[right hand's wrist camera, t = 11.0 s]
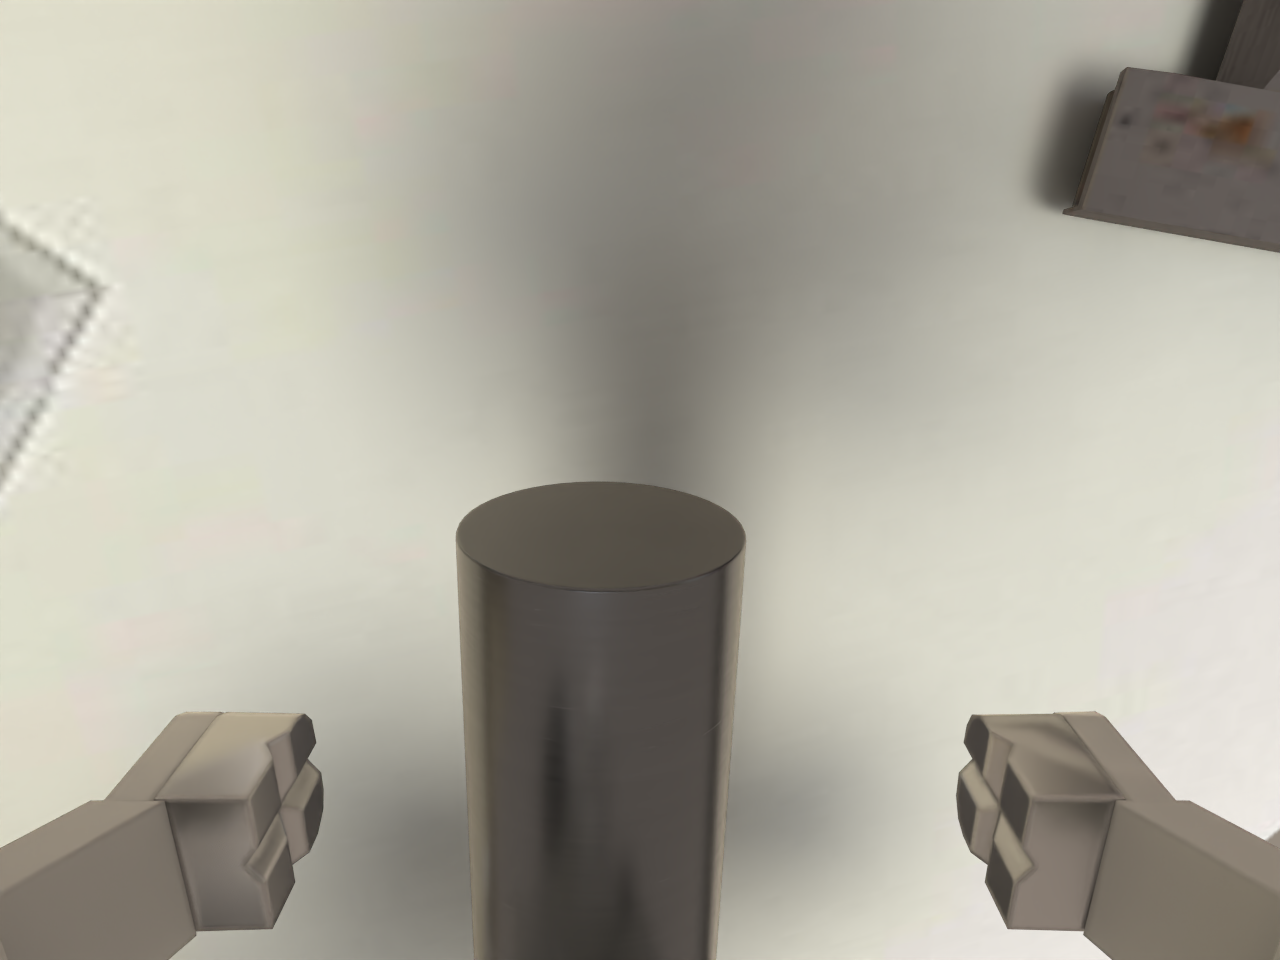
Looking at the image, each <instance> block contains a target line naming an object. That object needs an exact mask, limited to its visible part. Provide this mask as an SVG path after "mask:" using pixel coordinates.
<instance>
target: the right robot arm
mask: <svg viewBox="0 0 1280 960" xmlns="http://www.w3.org/2000/svg"><path fill="white" fill-rule="evenodd" d="M315 744H316V739H315V734H314V729H313V724H312V720H311V719H310V718H309V717H308V716H307V715H306V714H295V713H248V712H226V713H222V712H185V713H182V714H179V715H177V716H175V717H174V718H173V719H172V720H171V722H170V723H169V724H168V725H167V726H166V728H165V729H164V730H163V731H162V732H161V733H160V735H159V736H158V737H157V738H156V739H155V741H154V742H153V743H152V744H151V745H150V746H149V748H148V749H147V750H146V751H145V752H144V754H143V755H142V756H141V757H140V758H139V760H138V761H137V762H136V763H135V764H134V765H133V767H132V768H131V769H130V770H129V771H128V773H127V774H126V775H125V776H124V777H123V778H122V780H121V781H120V782H119V783H118V784H117V786H116V787H115V788H114V789H113V790H112V791H111V793H110V794H109V795H108V796H107V797H106V799H105V800H104V801H89V802H87V803H85V804H83V805H81V806H79V807H78V808H76V809H74V810H72V811H70V812H68V813H66V814H64V815H62V816H60V817H59V818H57V819H55V820H53V821H51V822H49V823H47V824H45V825H43V826H41V827H40V828H38V829H36V830H34V831H32V832H30V833H28V834H26V835H24V836H22V837H21V838H19V839H17V840H15V841H13V842H11V843H9V844H7V845H5V846H3V847H2V848H0V960H169V959H170V958H171V957H172V956H173V955H174V954H175V953H177V952H178V951H179V950H180V949H181V948H182V947H184V946H185V945H186V944H187V943H188V942H189V941H191V940H192V939H193V938H194V937H195V936H196V931H220V930H254V929H273V927H274V925H275V923H276V921H277V918H278V916H279V914H280V912H281V910H282V908H283V906H284V904H285V902H286V900H287V898H288V896H289V894H290V892H291V890H292V887H293V885H294V883H295V878H294V872H293V867H292V865H293V864H294V863H295V862H297V861H298V860H300V859H301V858H302V857H304V856H305V855H306V854H308V853H309V852H310V850H311V847H312V845H313V843H314V841H315V839H316V836H317V834H318V830H319V826H320V821H321V817H322V812H323V783H322V776H321V772H320V771H319V770H318V769H317V768H316V767H315V766H314V765H313V764H312V763H311V762H310V761H309V760H308V757H309V755H310V753H311V751H312V749H313V748H314V746H315ZM964 744H965V746H966V748H967V749H968V751H969V753H970V755H971V757H972V760H971V761H970V762H969V763H968V764H967V765H966V766H965V767H964V768H963V769H962V770H961V771H960V772H959V776H958V785H957V793H956V799H957V810H958V819H959V823H960V826H961V830H962V834H963V837H964V839H965V841H966V843H967V845H968V848H969V850H970V852H971V853H972V854H974V855H975V856H976V857H978V858H979V859H980V860H982V861H983V862H985V863H986V864H987V865H988V867H987V872H986V878H985V883H986V885H987V888H988V890H989V892H990V894H991V896H992V898H993V900H994V902H995V904H996V906H997V908H998V910H999V912H1000V914H1001V916H1002V918H1003V920H1004V922H1005V924H1006V927H1007V929H1024V930H1059V931H1084V934H1083V935H1084V936H1085V937H1086V938H1088V939H1089V940H1090V941H1091V942H1092V943H1093V944H1095V945H1096V946H1097V947H1098V948H1099V949H1100V950H1101V951H1103V952H1104V953H1105V954H1106V955H1107V956H1108V957H1110V958H1111V959H1112V960H1280V848H1278V847H1276V846H1274V845H1272V844H1271V843H1269V842H1267V841H1265V840H1263V839H1261V838H1259V837H1257V836H1255V835H1254V834H1252V833H1250V832H1248V831H1246V830H1244V829H1242V828H1240V827H1238V826H1237V825H1235V824H1233V823H1231V822H1229V821H1227V820H1225V819H1223V818H1221V817H1219V816H1218V815H1216V814H1214V813H1212V812H1210V811H1208V810H1206V809H1204V808H1202V807H1200V806H1199V805H1197V804H1195V803H1193V802H1191V801H1176V800H1175V799H1174V797H1173V796H1172V795H1171V794H1170V793H1169V792H1168V790H1167V789H1166V788H1165V787H1164V786H1163V784H1162V783H1161V782H1160V781H1159V780H1158V779H1157V777H1156V776H1155V775H1154V774H1153V773H1152V771H1151V770H1150V769H1149V768H1148V767H1147V766H1146V764H1145V763H1144V762H1143V761H1142V760H1141V758H1140V757H1139V756H1138V755H1137V754H1136V753H1135V751H1134V750H1133V749H1132V748H1131V747H1130V745H1129V744H1128V743H1127V742H1126V741H1125V740H1124V738H1123V737H1122V736H1121V735H1120V734H1119V732H1118V731H1117V730H1116V729H1115V728H1114V727H1113V725H1112V724H1111V723H1110V722H1109V721H1108V719H1107V718H1106V717H1105V716H1103V715H1101V714H1099V713H1097V712H1095V711H1091V712H1058V713H1053V714H985V715H972V716H971V718H970V720H969V722H968V724H967V727H966V733H965V738H964Z"/></svg>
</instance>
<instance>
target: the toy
mask: <svg viewBox="0 0 1280 960" xmlns="http://www.w3.org/2000/svg"><path fill="white" fill-rule="evenodd" d="M1063 214H1065V215H1071V216H1076V217H1082V218H1087V219H1093V220H1098V221H1104V222H1110V223H1115V224H1121V225H1127V226H1132V227H1138V228H1144V229H1149V230H1155V231H1161V232H1166V233H1172V234H1178V235H1183V236H1189V237H1195V238H1200V239H1206V240H1212V241H1217V242H1223V243H1229V244H1234V245H1240V246H1246V247H1251V248H1257V249H1263V250H1268V251H1274V252H1280V0H1244V1H1243V4H1242V6H1241V9H1240V12H1239V15H1238V18H1237V21H1236V24H1235V26H1234V29H1233V32H1232V35H1231V38H1230V41H1229V44H1228V46H1227V49H1226V52H1225V55H1224V58H1223V61H1222V64H1221V66H1220V69H1219V72H1218V75H1217V78H1216V81H1214V80H1209V79H1203V78H1198V77H1192V76H1187V75H1182V74H1176V73H1168V72H1161V71H1153V70H1145V69H1137V68H1130V67H1127V68H1125V69H1124V70H1123V71H1122V72H1121V73H1120V76H1119V79H1118V82H1117V85H1116V88H1115V90H1114V91H1111V92H1110V93H1109V94H1108V95H1107V98H1106V101H1105V104H1104V107H1103V110H1102V114H1101V117H1100V120H1099V123H1098V126H1097V130H1096V133H1095V136H1094V139H1093V142H1092V145H1091V149H1090V152H1089V155H1088V158H1087V161H1086V164H1085V168H1084V171H1083V174H1082V177H1081V180H1080V184H1079V187H1078V190H1077V193H1076V196H1075V199H1074V203H1073V207H1072V208H1068V209H1064V211H1063Z"/></svg>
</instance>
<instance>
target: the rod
mask: <svg viewBox="0 0 1280 960" xmlns="http://www.w3.org/2000/svg"><path fill="white" fill-rule="evenodd" d="M745 550H746V535H745V531H744V529H743V527H742V525H741V524H740V522H739V521H738V520H737V519H736V518H735V517H734V516H733V515H732V514H731V513H729V512H728V511H726V510H725V509H723V508H722V507H720V506H718V505H716V504H714V503H712V502H710V501H707V500H705V499H702V498H700V497H697V496H694V495H691V494H687V493H684V492H680V491H676V490H672V489H667V488H662V487H657V486H650V485H643V484H634V483H622V482H573V483H560V484H552V485H545V486H539V487H533V488H528V489H524V490H520V491H515V492H512V493H509V494H505V495H502V496H500V497H497V498H494V499H492V500H489V501H487V502H485V503H483V504H481V505H480V506H478V507H476V508H475V509H473V510H472V511H471V512H469V513H468V514H467V515H466V516H465V517H464V518H463V520H462V521H461V522H460V524H459V526H458V529H457V531H456V557H457V580H458V603H459V625H460V648H461V671H462V694H463V717H464V740H465V763H466V786H467V809H468V832H469V855H470V878H471V901H472V924H473V947H474V960H716V952H717V938H718V925H719V911H720V897H721V883H722V869H723V855H724V841H725V828H726V814H727V800H728V786H729V772H730V758H731V744H732V731H733V717H734V703H735V689H736V675H737V661H738V647H739V634H740V620H741V606H742V592H743V578H744V564H745Z"/></svg>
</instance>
